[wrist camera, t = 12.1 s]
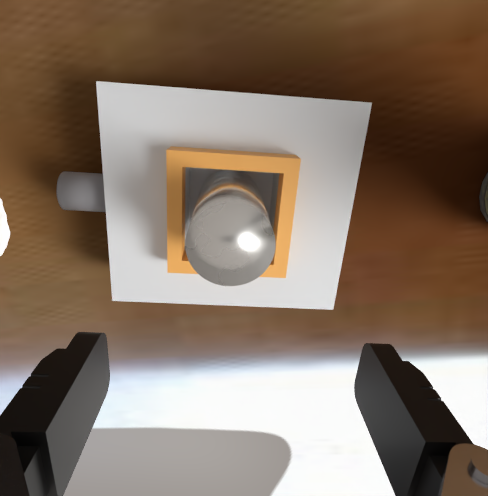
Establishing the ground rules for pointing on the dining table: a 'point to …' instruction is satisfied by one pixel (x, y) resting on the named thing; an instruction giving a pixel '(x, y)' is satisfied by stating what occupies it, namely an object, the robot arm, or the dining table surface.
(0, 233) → the tentacle sculpture
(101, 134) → the white square box
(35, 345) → the dining table surface
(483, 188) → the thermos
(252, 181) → the shiny metal cylinder
